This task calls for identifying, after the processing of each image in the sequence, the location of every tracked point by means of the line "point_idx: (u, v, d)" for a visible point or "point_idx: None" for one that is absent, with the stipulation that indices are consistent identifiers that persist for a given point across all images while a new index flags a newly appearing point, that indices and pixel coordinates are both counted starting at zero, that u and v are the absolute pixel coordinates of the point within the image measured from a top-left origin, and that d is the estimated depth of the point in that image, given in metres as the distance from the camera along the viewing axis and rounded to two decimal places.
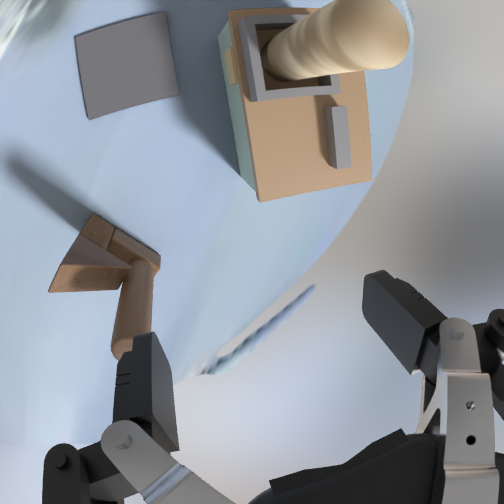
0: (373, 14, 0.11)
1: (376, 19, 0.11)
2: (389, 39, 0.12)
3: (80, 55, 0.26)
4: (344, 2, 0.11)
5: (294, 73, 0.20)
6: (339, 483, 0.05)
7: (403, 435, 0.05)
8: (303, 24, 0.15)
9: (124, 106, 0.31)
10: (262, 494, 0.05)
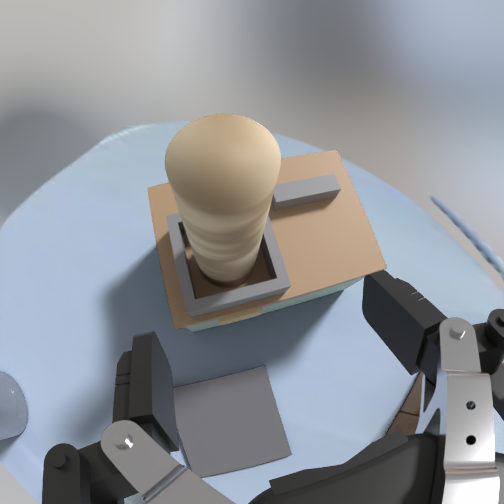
0: (202, 159, 0.12)
1: (209, 155, 0.12)
2: (232, 137, 0.12)
3: (217, 471, 0.27)
4: (198, 198, 0.11)
5: (258, 248, 0.20)
6: (339, 483, 0.05)
7: (403, 435, 0.05)
8: (213, 246, 0.15)
9: (278, 420, 0.30)
10: (262, 494, 0.05)
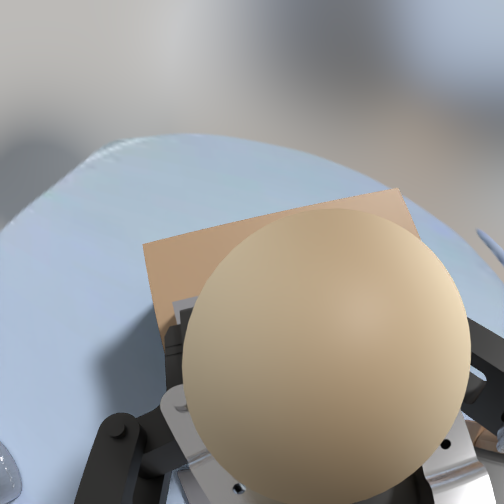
0: (299, 382, 0.04)
1: (316, 366, 0.04)
2: (372, 297, 0.04)
3: None
4: (294, 494, 0.03)
5: None
6: None
7: None
8: None
9: None
10: None
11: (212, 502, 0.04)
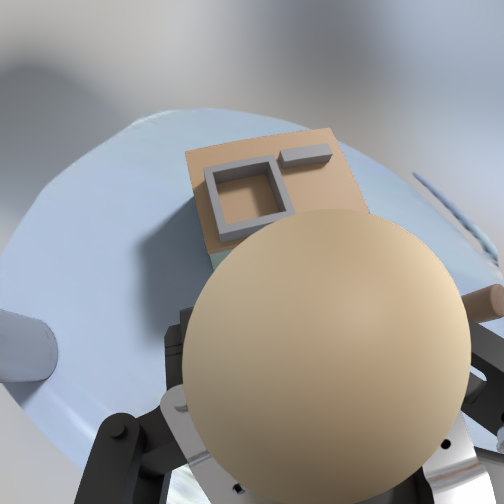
0: (299, 382, 0.04)
1: (316, 367, 0.04)
2: (373, 298, 0.04)
3: None
4: (294, 495, 0.03)
5: None
6: None
7: None
8: None
9: None
10: None
11: (212, 502, 0.04)
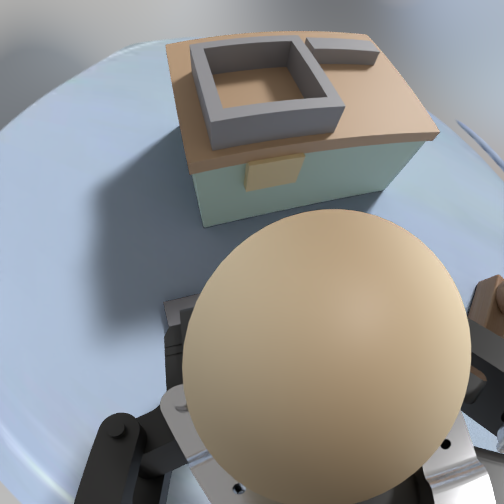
0: (299, 383, 0.04)
1: (316, 367, 0.04)
2: (373, 298, 0.04)
3: None
4: (294, 495, 0.03)
5: None
6: None
7: None
8: None
9: None
10: None
11: (212, 502, 0.04)
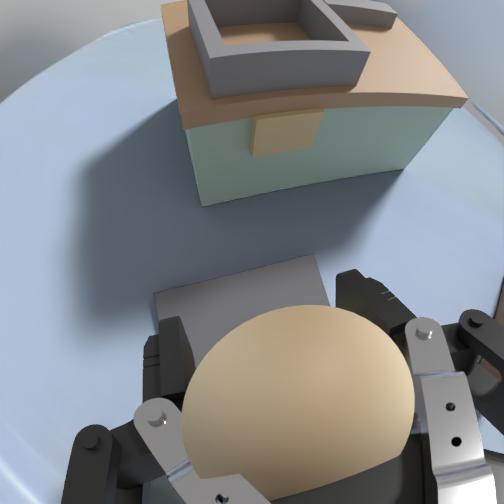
0: (265, 439, 0.05)
1: (278, 429, 0.05)
2: (327, 379, 0.05)
3: None
4: None
5: None
6: (339, 483, 0.05)
7: None
8: None
9: None
10: None
11: None
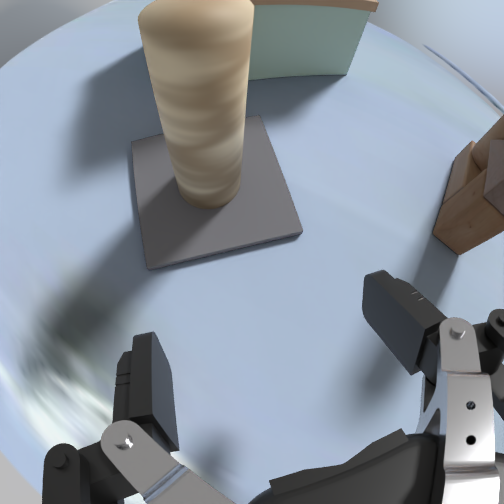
0: (175, 11, 0.09)
1: (182, 9, 0.09)
2: None
3: (183, 253, 0.21)
4: (165, 31, 0.09)
5: (240, 150, 0.18)
6: (339, 483, 0.05)
7: (403, 435, 0.05)
8: (184, 116, 0.13)
9: (280, 177, 0.23)
10: (262, 494, 0.05)
11: None
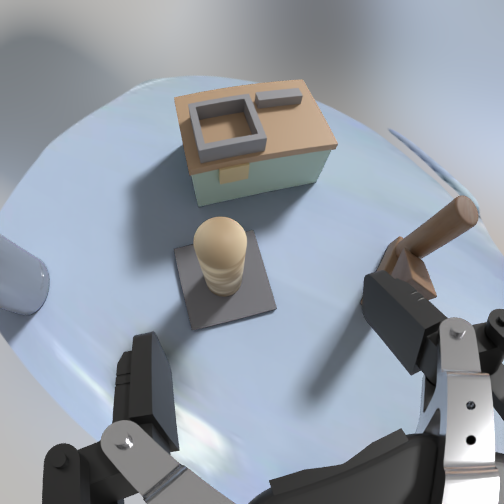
0: (211, 243, 0.27)
1: (213, 241, 0.27)
2: (224, 231, 0.27)
3: (212, 322, 0.38)
4: (209, 263, 0.26)
5: (241, 275, 0.35)
6: (339, 483, 0.05)
7: (403, 435, 0.05)
8: (216, 278, 0.30)
9: (264, 275, 0.41)
10: (262, 494, 0.05)
11: None
